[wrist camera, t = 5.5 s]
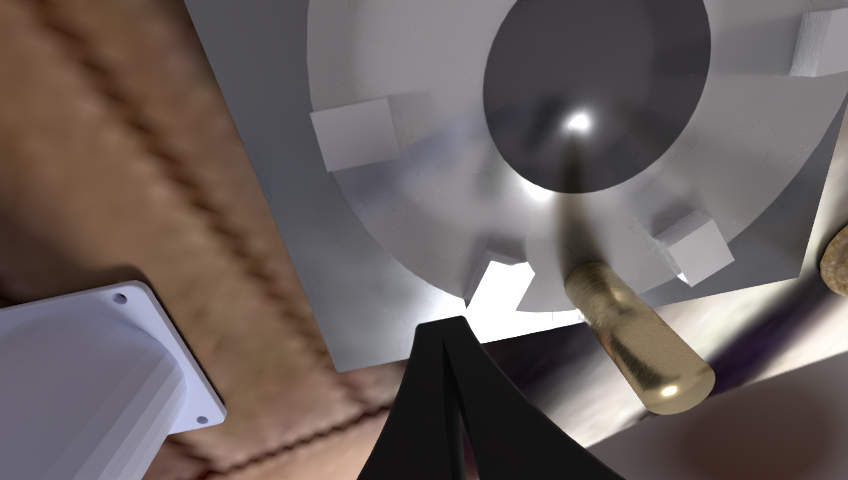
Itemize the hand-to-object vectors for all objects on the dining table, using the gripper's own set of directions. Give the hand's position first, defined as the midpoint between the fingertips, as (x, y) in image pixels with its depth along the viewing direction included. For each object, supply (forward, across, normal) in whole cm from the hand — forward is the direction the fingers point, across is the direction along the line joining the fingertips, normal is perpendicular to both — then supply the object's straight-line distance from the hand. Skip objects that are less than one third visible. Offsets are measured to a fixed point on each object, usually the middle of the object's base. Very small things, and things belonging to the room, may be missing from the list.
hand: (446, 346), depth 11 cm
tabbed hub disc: (+4, -5, -6) cm, 9 cm away
